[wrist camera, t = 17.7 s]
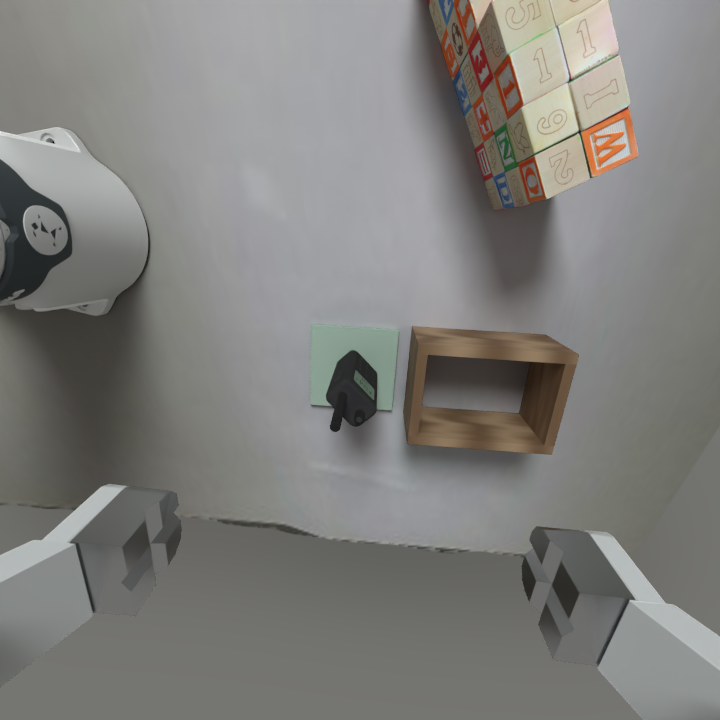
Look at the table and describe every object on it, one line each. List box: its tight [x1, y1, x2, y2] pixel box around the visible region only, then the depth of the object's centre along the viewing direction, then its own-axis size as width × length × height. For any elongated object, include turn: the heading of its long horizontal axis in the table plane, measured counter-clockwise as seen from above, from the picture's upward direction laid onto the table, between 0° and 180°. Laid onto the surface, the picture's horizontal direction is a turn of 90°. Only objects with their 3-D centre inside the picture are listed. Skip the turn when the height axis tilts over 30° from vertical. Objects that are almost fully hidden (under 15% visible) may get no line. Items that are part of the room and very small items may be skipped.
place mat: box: [311, 324, 399, 410], centre depth 42 cm, size 10×10×1 cm
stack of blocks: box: [427, 0, 639, 211], centre depth 27 cm, size 21×6×12 cm, turn 25°
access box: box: [403, 326, 579, 455], centre depth 38 cm, size 15×11×7 cm
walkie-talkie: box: [326, 350, 377, 432], centre depth 34 cm, size 5×3×15 cm
